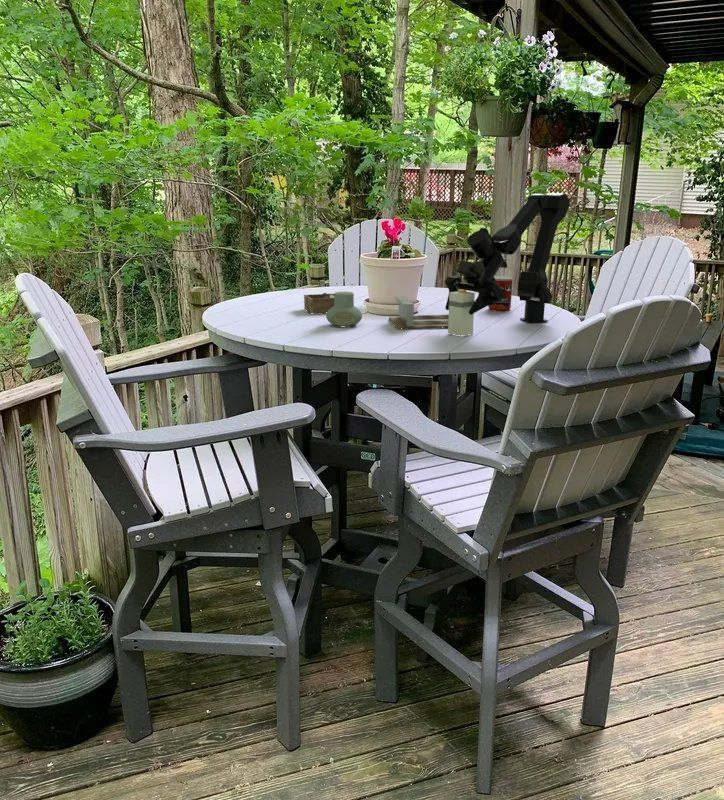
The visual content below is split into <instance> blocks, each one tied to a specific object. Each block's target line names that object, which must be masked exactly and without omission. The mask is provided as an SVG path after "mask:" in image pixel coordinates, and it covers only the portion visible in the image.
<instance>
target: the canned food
mask: <svg viewBox="0 0 724 800" xmlns="http://www.w3.org/2000/svg"><path fill="white" fill-rule="evenodd" d="M494 278H495V279H496V280H495V281H494V282H497V284H498V285H499V287H500V288H501V290H502V291H503V293H504V295H503V298H502V300H501V301H500V302H496V303H495V304H491V305H489V306H487V307H488V310H489V309H490V311H492V310H496V311H495V312H506V311H505V310H508V311H510V310H511V308H512V297H513V295H512V294H513V293H512V292H513V277H512V276H507V275H495V276H494Z"/></svg>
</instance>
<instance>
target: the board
mask: <svg viewBox="0 0 724 800" xmlns="http://www.w3.org/2000/svg"><path fill="white" fill-rule="evenodd" d="M448 319H449V313H447V314H414V326H406V325H405V324H404V323H403V322H402V321H401V319H400V318H399V317H398V316H391V317H390V316H389V317H388V320H389V322H390V321H391V322H392V323H393V324H394V325H395V326H394V325H393V324H392V323H391V322H390V323H391V324H392V325H393V326H394V327H395V329H396V328H397V329H398V330H413V329H412V328H437V329H443V328H442V327H448ZM401 328H402V329H401ZM406 328H408V329H406ZM397 329H396V330H397Z"/></svg>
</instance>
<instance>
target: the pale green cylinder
mask: <svg viewBox="0 0 724 800" xmlns="http://www.w3.org/2000/svg"><path fill="white" fill-rule="evenodd" d="M448 295H449V310H448V314H449V319H448V328H447V334H448V333H450V334H455V335H460V336H461V335H468V334H473V335H474V319H475V317H474V316H475V315H474V314H475V313H474V314H472V315H470V314H469V310H470V308H471V307H472V305H473V303H474V302H475V300H476V299H475V297H476V292H473V291H467V290H464V289H460V290H458V291H457V292H449V291H448Z"/></svg>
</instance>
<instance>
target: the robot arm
mask: <svg viewBox="0 0 724 800" xmlns="http://www.w3.org/2000/svg"><path fill="white" fill-rule="evenodd" d="M570 205H571V200H570V198H569V196H568V195H567V194H566V193H546V194H544V193H532V194H530V195H529V196H528V197H527V200H526V201H525V203H524V204H523V206H522V207H521V208H520V210H519V211H518V212H517V213H516V215H515V216H514V217H513V218H512V220H511V221H510V222H509V223H508V224H507V225H506V226H504V227H502V228H500V229H498V230H497V232H495V233H494V234H492V236H491V234H490V232H489V230H488V228H487V227H480V229H479V230H477V231H476V230H475V231H474V232H473V233H472V234H470V235H469V236H468V237H467V240H466V243H467V245H468V247H469V248H470V249H471V251H472V252H473V254H474V255H475V256H476V258H477V259H481V260H480V261H479V260H476V261H474V262H471V261H468V260H467V261H466V260H460V261H459V263H458V266H457V269H456V273H459V274H461V275H463V279H464V281H465V282H464V281H463V280H462V279H461V278H460V276H452V275H451V276H450V275H449V276H448V275H447V278H446V279H445V281H443V282H444V284H445V285H446V287H447V289H448V293H449V292H457V291H458V290H460V289H464V290H466V291H467V292H473V293H477V294H478V296H477V297H476V299H474V301H475V302H474V303H473V305H472V307H471V308H470V310H469V314H470V315H472V314H476V313H477V312H479V311H481V310H483V309H485V308H486V307H488V306H489V305H491V304H495V303H496V302H500V301H501V300H502V298H503V295H504V293H503V291H502V290H501V288H500V287H499V285H498V284H497V282H494V281H495V280H496V279H495V278H494V276H496V274H497V272H498V271H499V269H500V268H504V269H507V268H508V263H507V258H506V257H503V255H514V254H515V253H516V252H517V250H518V248H519V247H520V245H521V244H522V236H523V234H524V233H525V231H526V230H527V229H528V228H529V227H530V225H531V224H532V223H533V221H534V220H535V219H536V217H537V216H538V215H539V217H540V221H541V222H540V227H539V230H538V233H537V236H536V240H535V245H534V249H533V252H532V256H531V259H530V263H529V267H528V268H527V269H526V270H522V271H521V272H520V273H519V278H518V280H517V292H518V297H519V301H521V302H522V301H523V302H525V304H524V316H523V317H519V320H521V321H523V322H526V323H531V324H534V323H548V322H549V320H548V319H545V306H546V304H549V303H551V302H552V299H553V294H552V292H551V291H550V290H549V288H548V284H549V283H548V281H549V279H548V276H547V272H546V269H547V266H548V262H549V258H550V254H551V251H552V248H553V243H554V240H555V236H556V232H557V228H558V226H559V224H560V223H561V221H563V220H564V219H565V218H566V215H567V213H568V211H569V209H570ZM444 308H445V310H446V311H449V294H448V297H447V300H446V304H445V307H444Z"/></svg>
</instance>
